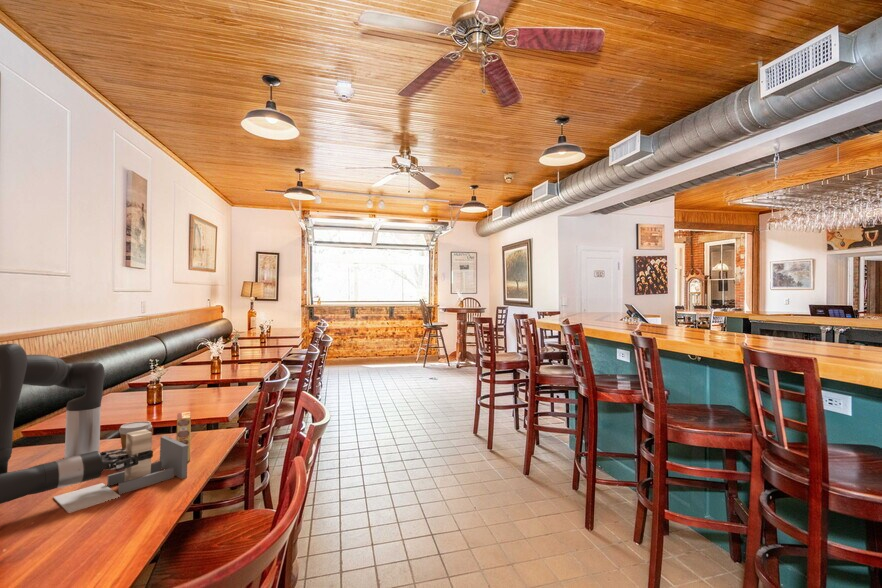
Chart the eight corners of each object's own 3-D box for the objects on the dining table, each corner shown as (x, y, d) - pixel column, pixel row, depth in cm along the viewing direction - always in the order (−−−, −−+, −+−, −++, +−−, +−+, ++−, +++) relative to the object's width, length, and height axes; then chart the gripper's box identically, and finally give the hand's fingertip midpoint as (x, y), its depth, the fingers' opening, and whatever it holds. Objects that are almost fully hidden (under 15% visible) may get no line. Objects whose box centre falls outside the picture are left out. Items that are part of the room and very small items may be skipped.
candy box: (190, 461, 141) (191, 417, 141) (175, 463, 139) (177, 418, 139) (189, 453, 148) (190, 411, 149) (175, 455, 146) (176, 412, 146)
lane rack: (103, 482, 123) (104, 449, 124) (164, 465, 137) (165, 435, 137) (123, 497, 114) (124, 461, 115) (186, 477, 128) (187, 445, 128)
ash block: (124, 483, 123) (126, 433, 124) (143, 477, 127) (145, 429, 128) (130, 487, 120) (132, 436, 121) (150, 481, 124) (152, 432, 125)
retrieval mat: (53, 498, 113) (53, 496, 113) (102, 484, 122) (102, 482, 122) (68, 513, 105) (68, 511, 105) (120, 497, 114) (120, 495, 114)
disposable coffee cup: (156, 457, 144) (157, 423, 144) (124, 466, 136) (125, 430, 136) (144, 452, 149) (145, 419, 149) (112, 460, 141) (113, 425, 141)
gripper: (86, 461, 108) (159, 444, 122) (70, 450, 116) (139, 435, 130) (85, 489, 108) (158, 469, 122) (68, 476, 116) (138, 458, 130)
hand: (148, 451), depth 126 cm, fingers closed on ash block, 5 cm apart
